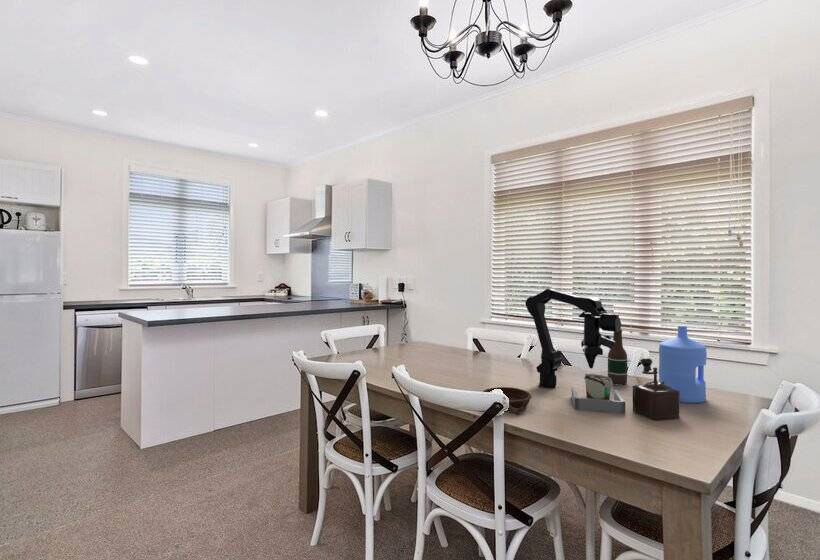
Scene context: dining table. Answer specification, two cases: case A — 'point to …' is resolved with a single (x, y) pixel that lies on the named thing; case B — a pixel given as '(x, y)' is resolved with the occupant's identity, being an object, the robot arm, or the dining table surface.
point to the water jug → (683, 366)
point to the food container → (598, 386)
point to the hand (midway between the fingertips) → (591, 368)
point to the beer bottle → (617, 361)
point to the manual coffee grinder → (655, 397)
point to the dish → (515, 398)
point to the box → (599, 403)
